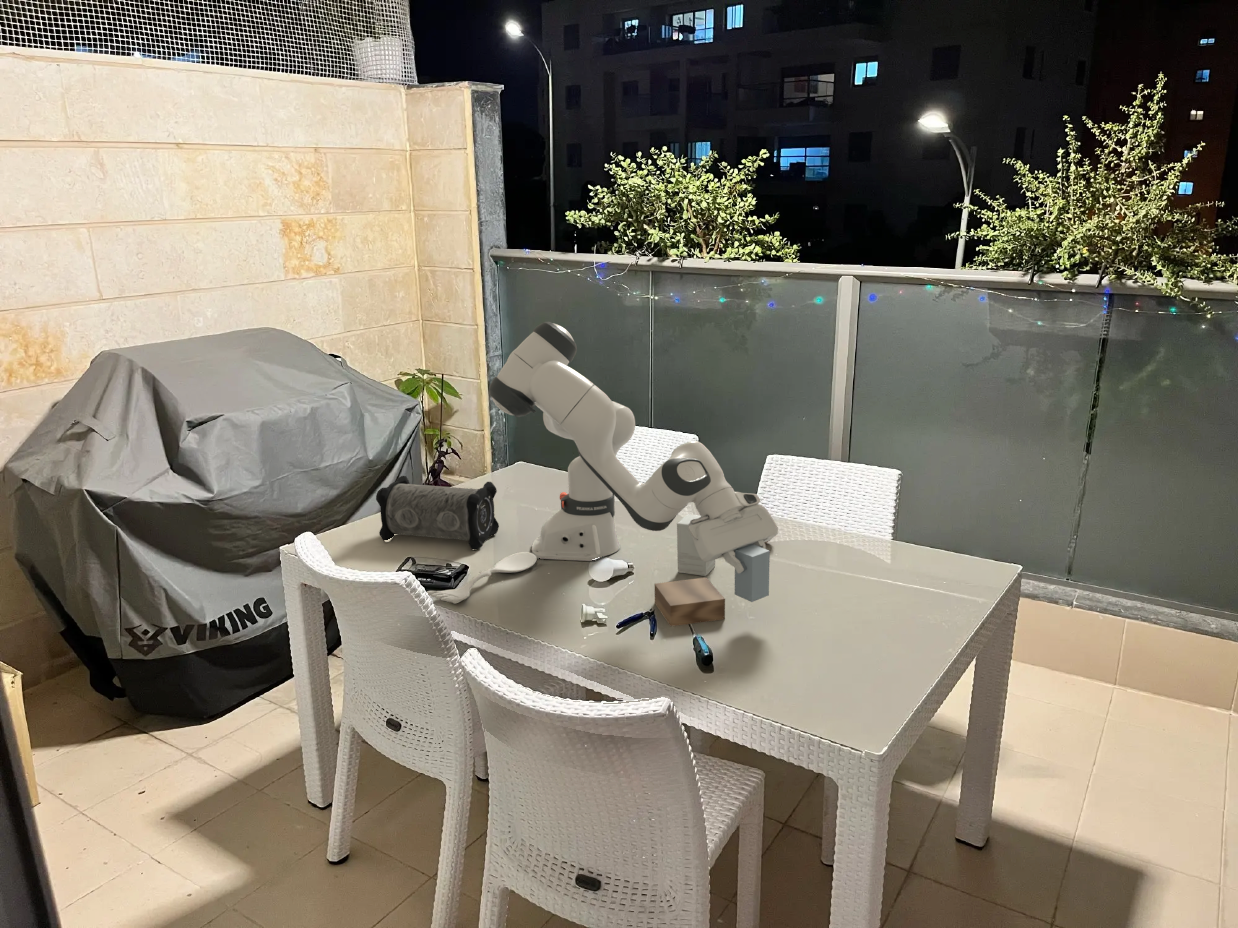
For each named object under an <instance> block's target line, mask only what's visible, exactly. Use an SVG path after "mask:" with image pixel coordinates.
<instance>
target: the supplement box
mask: <svg viewBox="0 0 1238 928" xmlns="http://www.w3.org/2000/svg"><path fill="white" fill-rule="evenodd" d="M700 517H701V516H700V514H691V513H687V514H686V515H684V516H683V517H682V518H681V519H680V520H679V521H678V522H677V523H676V533H677V534H676V535H677V537H676V538H677V539H676V542H677V544H676V545H677V547H676V548H677V549H676V550H677V553H676V554H677V572H678V573H680V574H689V575H694V576H695V575H696V576H701V577H707V576H708V575H709V574H710V572H711V571H712V570H713V569H714V568H715V566H716V559H715V560H713V561H710V562H705V561H703V560H702V559H701V558H700V556H699V554H698V551H697V549H696V547H695V544H694V541H693V538H692V536H691V534H690V532H689V531H688V525H689V523H690V521H691V520H693V519H697V518H700Z"/></svg>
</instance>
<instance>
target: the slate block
mask: <svg viewBox="0 0 1238 928" xmlns="http://www.w3.org/2000/svg"><path fill="white" fill-rule="evenodd" d="M770 551H771V550H769V549H767V548H766V549H764V548H761V547H759V546H756V545H754V544H751V545H748V546H745V547H742V548H739V549H736V550H735V556H734V557H736V558H737V559H738V560H739V561H740V562H742V561H744V563H745V565H746V566H747V570H745V571H744V572H742V573H737V571H736V569H735V568H734V595H735V596H737V597H739V598H742V599H744V600H746V601H747V602H748V601H749V602H751V603H754V602H756V601H758V600H761V599H763V598H766V597H768V596H769V593H770V558H771V554H770Z"/></svg>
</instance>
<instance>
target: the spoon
mask: <svg viewBox="0 0 1238 928" xmlns="http://www.w3.org/2000/svg"><path fill="white" fill-rule="evenodd" d="M537 559H538V558H537V557H536V556H535V555H534V554H532V552H528V551H521V552H515V553H513V554H509V555H508V556H505V557H503V558H501V559H500V560H499V561H497V562H496V563H495V564H494V566H493V567H491V568H488V569H486V570H485V569H484V570H480V571H479V573H478V574H476V575H475V576H473V577H472V578H471V579H470V580H469V581H468V582H467V583H465V584H464V585H463V586H461V587H459V588H455V589H452V588H451V589H445V590H428V591H426V592H427V593H428V595H429V596H430V597H432V598H435V599H437V600H441V601H443V602H447V603H452V604H454V605H455V604H457V603H460V602H462V601H464V600H466V599H468V598H469V597H470V594H471V593H470V592H471V589H472V588H473V586H474V585H475V583H477V582H478V581H479V580H481V579H483V578H486V577H490V576H492V574H493V573H505V574H507V573H511V574H513V573H520V572H523V571H525V570H528V569H530V568H532V567H533V566H534V565H535V563H537Z"/></svg>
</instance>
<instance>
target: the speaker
mask: <svg viewBox="0 0 1238 928" xmlns="http://www.w3.org/2000/svg"><path fill="white" fill-rule="evenodd" d="M497 492H498V490H497V487H496V486H495V485H494V483H493V482H492V481H486V482H485V483H484V485H483V486H482V487H481V488H473V487H472V488H467V487H466V488H465V487H455V486H454V487H452V486H441V485H440V486H439V485H436V486H435V485H430V484H429V485H428V484H425V485H424V484H414V483H412V484H411V482H410V480H409V478H408V477H407V475H401V476H399V477H398V478H397V479H395V481H394V482H392V483H390V484H389V485H388V486H386V487H381V488H379V490H377V492H376V495H375V500H376V502H377V504H378V505H379V507H380V521H381V528H380V530H379V531H378V532H379V533H378V534H379V536H380V538H381V540H382V541H384V540H388V539H390V538H392V537H393V536H394V534H398V535H404V536H405V535H406V536H415V537H416V536H417V537H427V538H439V539H451V540H461V541H468V546H469V547H470V549H471V550H472V549H477V550H479V549H480V548H481V547H483V546H484V545H483V543H485V542H486V541H487V540H488V538H489V537H492V536H491V535H493V536H495V535H496V534H497V533H498V531H499V528H500V524H499V522H498V521H497V519H496V517H495V502H494V498H495V496H496V494H497ZM494 534H495V535H494ZM394 537H395V536H394ZM486 539H487V540H486ZM485 540H486V541H485ZM484 541H485V542H484ZM478 548H479V549H478Z"/></svg>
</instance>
